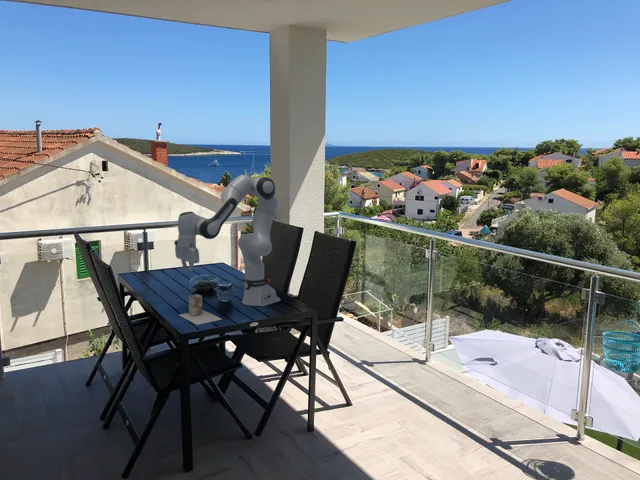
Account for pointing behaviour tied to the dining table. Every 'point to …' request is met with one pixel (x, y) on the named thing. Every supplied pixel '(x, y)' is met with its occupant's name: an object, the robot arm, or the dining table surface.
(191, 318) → the sand mat
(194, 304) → the birch block
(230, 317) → the dining table surface
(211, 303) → the dining table surface
